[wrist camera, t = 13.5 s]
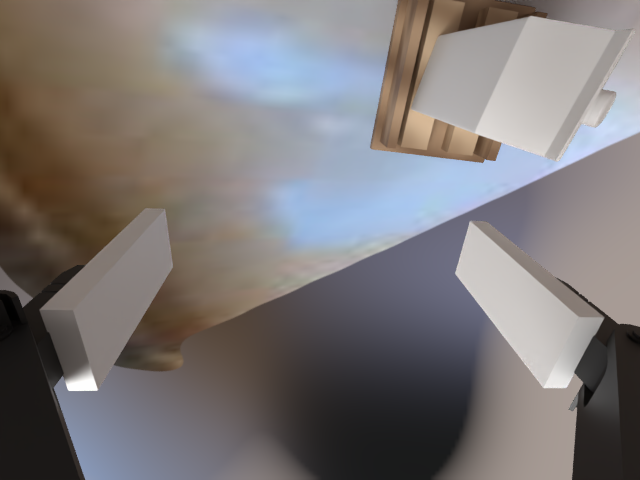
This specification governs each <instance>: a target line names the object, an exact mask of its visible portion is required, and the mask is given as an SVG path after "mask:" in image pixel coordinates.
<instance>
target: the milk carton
mask: <svg viewBox="0 0 640 480" xmlns="http://www.w3.org/2000/svg"><path fill="white" fill-rule="evenodd" d="M634 33H635V30H634V29H626V30H611V29H605V28H599V27H593V26H587V25H581V24H576V23H570V22H564V21H558V20H552V19H546V18H540V17H534V16H529V17H525V18H520V19H515V20H511V21H506V22H501V23H496V24H492V25H487V26H482V27H477V28H473V29H468V30H463V31H458V32H454V33H449V34H444V35H440V36H438V38H437V40H436V43H435V45H434V48H433V51H432V53H431V56H430V58H429V61H428V64H427V66H426V69H425V72H424V74H423V77H422V79H421V82H420V85H419V87H418V90H417V92H416V95H415V98H414V100H413V103H412V106H411V109H412V110H414V111H416V112H419V113H422V114H424V115H427V116H430V117H432V118H435V119H438V120H440V121H443V122H446V123H448V124H451V125H453V126H456V127H459V128H461V129H464V130H467V131H469V132H472V133H475V134H478V135H480V136H483V137H486V138H489V139H492V140H495V141H498V142H501V143H504V144H507V145H510V146H513V147H516V148H519V149H522V150H525V151H528V152H531V153H534V154H537V155H539V156H542V157H545V158H548V159H551V160H554V161H556V162H558V161H559V160H560V159H561V157H562V156H563V154H564V152H565V151H566V149H567V147H568V146H569V144H570V142H571V141H572V139H573V137H574V136H575V134H576V132H577V131H578V129H579V127H580V125H581V124H583V125H584V124H585V125H587V126H590V127H597V126H598V125H600V123H601V122H602V121H603V120H604V118H605V117H606V115H607V113H608V112H609V110H610V108H611V107H612V105H613V103H614V101H615V98H616V92H614V91H609V90H603V89H602V88H603V87H604V85H605V83H606V82H607V80H608V78H609V76H610V75H611V73H612V71H613V70H614V68H615V66H616V65H617V63H618V61H619V59H620V57H621V56H622V54H623V52H624V50H625V49H626V47H627V45H628V43H629V42H630V40H631V38H632V37H633V35H634Z"/></svg>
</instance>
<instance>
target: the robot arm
mask: <svg viewBox="0 0 640 480" xmlns="http://www.w3.org/2000/svg"><path fill="white" fill-rule="evenodd" d="M172 267H173V263H172V256H171V249H170V242H169V234H168V227H167V220H166V213H165V209H149V208H145V209H144V210H143V211H142V212H141V213H140V214H139V215H138V216H137V217H136V218H135V219H134V220H133V221H132V222H131V223H130V224H129V225H128V226H127V227H126V228H125V229H123V230H122V231H121V232H120V233H119V234H118V235H117V236H116V237H115V238H114V239H113V240H112V241H111V242H110V243H109V244H108V245H107V246H106V247H105V248H104V249H103V250H101V251H100V252H99V253H98V254H97V255H96V256H95V257H94V258H93V259H92V260H91V261H90V262H89V263H88V264H87V265H77V266H75V267H73V268H71V269H69V270H67V271H65V272H63V273H61V274H60V275H59V276H58V277H57V278H56V279H55V280H53V281H52V282H51V285H48V286H47V287H46V288H44V289H43V290H42V293H39V294H38V295H37V296H35V297H34V298H33V299H32V300H31V301H30V302H29V303H28V304H27V305H25V306H24V307H23V308H22V305H21V303H20V300H19V298H18V296H17V295H16V294H15V293H14V292H11V291H6V290H0V480H85V478H84V475H83V472H82V469H81V466H80V463H79V460H78V457H77V455H76V452H75V449H74V446H73V443H72V440H71V437H70V434H69V431H68V428H67V425H66V422H65V419H64V416H63V413H62V411H61V408H60V405H59V402H58V399H57V396H56V393H55V391H54V386H55V385H56V384H57V382H58V381H59V380H60V378H61V377H62V376H63V377H64V380H65V382H66V385H67V388H68V390H69V391H74V390H75V391H77V390H79V391H80V390H84V391H85V390H98V389H99V388H100V386H101V384H102V383H103V381H104V379H105V378H106V376H107V374H108V373H109V371H110V369H111V368H112V366H113V365H114V363H115V361H116V360H117V358H118V356H119V355H120V353H121V351H122V350H123V348H124V346H125V345H126V343H127V341H128V340H129V338H130V337H131V335H132V333H133V332H134V330H135V328H136V327H137V325H138V323H139V322H140V320H141V318H142V317H143V315H144V314H145V312H146V310H147V309H148V307H149V305H150V304H151V302H152V300H153V299H154V297H155V295H156V294H157V292H158V290H159V289H160V287H161V286H162V284H163V282H164V281H165V279H166V277H167V276H168V274H169V272H170V271H171V269H172ZM455 274H456V275H457V277H458V278H459V279H460V280H461V282H462V283H463V284H464V285H465V287H466V288H467V289H468V291H469V292H470V293H471V295H472V296H473V297H474V299H475V300H476V301H477V302H478V304H479V305H480V306H481V308H482V309H483V310H484V311H485V313H486V314H487V315H488V317H489V318H490V319H491V321H492V322H493V323H494V325H495V326H496V327H497V328H498V330H499V331H500V332H501V334H502V335H503V336H504V337H505V339H506V340H507V341H508V343H509V344H510V345H511V346H512V348H513V349H514V350H515V352H516V353H517V354H518V356H519V357H520V358H521V360H522V361H523V362H524V363H525V365H526V366H527V367H528V369H529V370H530V371H531V372H532V374H533V375H534V376H535V378H536V379H537V380H538V382H539V383H540V384H541V385H542V387H543V388H567V386H568V384H569V382H570V381H571V379H572V377H573V375H574V373H575V374H576V375H577V376H578V377H579V378H580V379H581V380H582V381H583V385H582V387H581V388H580V390H579V392H578V393H577V395H576V397H575V399H574V400H573V402H572V404H571V406H570V408H569V410H571V411H573V410H574V409H575V407H577V420H576V433H575V447H574V461H573V475H572V480H640V327H638V326H634V325H630V324H629V325H628V324H617V323H616V322H615V321H614V320H613V319H611V318H610V317H609V316H608V315H606V314H605V313H604V312H603V311H601V310H600V309H599V308H597V307H596V306H595V305H594V304H592V303H591V302H588V300H587V299H586V298H585V297H584V296H582V295H581V294H579V293H578V292H577V291H576V290H575V289H574V288H572V287H571V286H570V285H569V284H567V283H565V282H564V281H561V280H560V279H558V278H556V277H554V276H553V275H552V274H550V273H549V272H548V271H547V270H546V269H544V268H543V267H542V266H541V265H539V264H538V263H537V262H536V261H534V260H533V259H532V258H531V257H530V256H528V255H527V254H526V253H525V252H523V251H522V250H521V249H520V248H518V247H517V246H516V245H515V244H514V243H512V242H511V241H510V240H508V239H507V238H506V237H505V236H504V235H502V234H501V233H500V232H499V231H498V230H496V229H495V228H494V227H493V226H491V225H490V224H489V223H488V222H485V221H482V222H481V221H470V224H469V227H468V230H467V234H466V237H465V241H464V245H463V248H462V252H461V255H460V259H459V262H458V266H457V269H456V273H455Z"/></svg>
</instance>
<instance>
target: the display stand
mask: <svg viewBox="0 0 640 480" xmlns="http://www.w3.org/2000/svg"><path fill="white" fill-rule="evenodd" d="M535 9H536V8H535V7H529V6H524V5H518V4H512V3H507V2H501V1H496V0H398V5H397V10H396V15H395V20H394V26H393V31H392V36H391V41H390V46H389V52H388V57H387V62H386V67H385V72H384V78H383V83H382V88H381V93H380V98H379V104H378V109H377V114H376V119H375V124H374V130H373V135H372V140H371V145H370V148H371V149H374V150H383V151H391V152H399V153H407V154H415V155H424V156H432V157H440V158H448V159H456V160H465V161H473V162H481V163H483V162H484V159H486V160H491V161H495V160H496V157H497V154H498V152H499V149H500V146H501V142H498V141H495V140H492V139H489V138H486V137H483V136H480V135H478V134H475V133H472V132H469V131H467V130H464V129H461V128H459V127H456V126H453V125H451V124H448V123H446V122H443V121H440V120H438V119H435V118H432V117H430V116H427V115H424V114H422V113H419V112H416V111H414V110H412V109H411V106H412V103H413V100H414V98H415V95H416V92H417V90H418V87H419V85H420V82H421V79H422V77H423V74H424V72H425V69H426V66H427V64H428V61H429V58H430V56H431V53H432V51H433V48H434V45H435V43H436V40H437V38H438V36H440V35H444V34H449V33H454V32H458V31H463V30H468V29H473V28H477V27H482V26H487V25H492V24H496V23H501V22H506V21H511V20H515V19H520V18H525V17H529V16H534V17H540V18H546V16H547V13H542V12H535Z"/></svg>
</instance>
